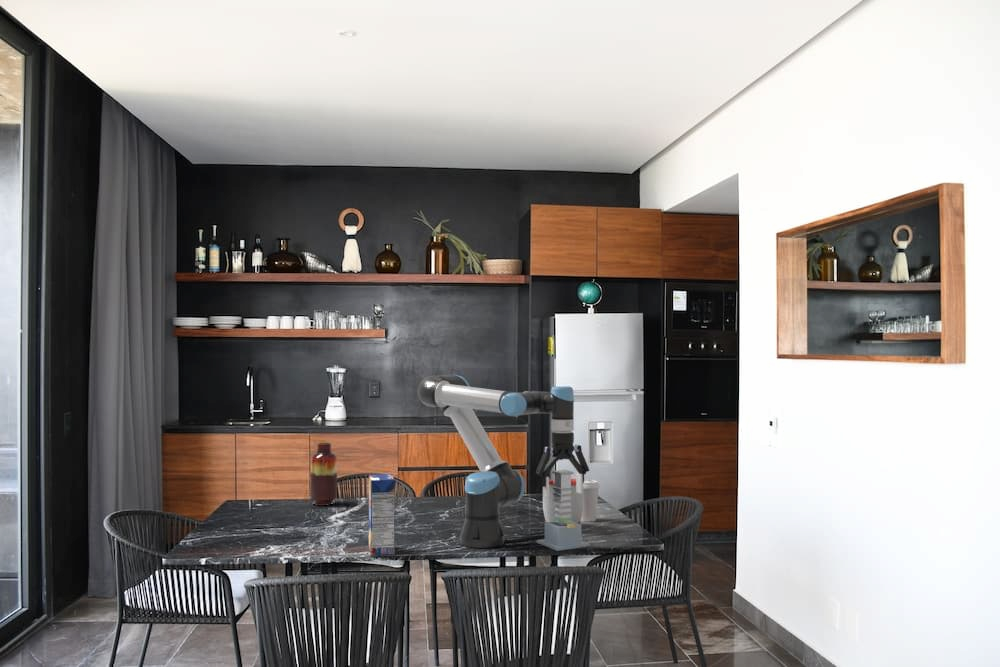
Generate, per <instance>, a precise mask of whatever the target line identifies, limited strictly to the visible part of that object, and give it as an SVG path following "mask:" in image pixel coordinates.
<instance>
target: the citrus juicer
mask: <svg viewBox="0 0 1000 667" xmlns="http://www.w3.org/2000/svg"><path fill="white" fill-rule="evenodd" d="M553 487H555V481H554V480H553V479H552V478H549V497H545V496H543V495H542V510H543V516H544V519H545V522H552V521H555V519H553V517H554V516H555V513H553V511H555V507H553V505H555V501H553V499H555V495H553V493H555V490H554V489H553ZM571 488H573V490H571V494H573V496H571V500H573V502H571V506H573V508H571V511H572V512H573V514H571V517H572V518H573V520H571V521H572V522H575V523H578V524H581V522H582V521H581V517H582V513H583V493H582V494H580V493H577V492H576V478H571Z"/></svg>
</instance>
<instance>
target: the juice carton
mask: <svg viewBox="0 0 1000 667" xmlns="http://www.w3.org/2000/svg"><path fill="white" fill-rule="evenodd" d="M395 496H396V479H395V477H394V475H393V474H391V473H387V474H385V473H384V474H369V475H368V550H370V551H369V554H370V553H371V554H370V557H378V556H381V557H383V556H395V552H396V551H395V550H396V549H395V535H396V534H395V532H396V531H395V528H396V527H395V526H396V525H395V524H396V521H395V519H396V518H395V517H396V516H395V515H396V514H395V513H396V512H395V511H396V510H395V509H396V497H395Z"/></svg>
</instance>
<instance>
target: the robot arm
mask: <svg viewBox="0 0 1000 667" xmlns="http://www.w3.org/2000/svg"><path fill="white" fill-rule="evenodd" d="M417 387H418V388H417V396H418V399H419V400H420V402H421V403H422V404H423V405H425V406H426V407H429V408H440V411H441V412H442V414H443V415H444V416H445V417H449V418H450V419H451V422H452V423H453V425H454V427H455V428H456V430H457V432H458V434H459V436H460V437H461V438H462V440H463V442H464V445H465V446H466V448H467V449H468V452H469V454H470V455H471V457H472V459H473V461H474V462H475V463H476V466H477V467H478V469H479V471H476V472H474V473H469V475H467V476H466V478H465V483H464V484H465V485H464V498H465V499H464V500H465V501H464V510H465V511H464V514H465V516H464V523H463V526H462V529H461V532H460V535H459V544H460V545H461V546H464V547H468V548H476V549H477V548H478V549H479V548H480V549H481V548H482V549H485V548H494V547H500V546H502V545H504V544H505V534H504V531H503V528H502V524H501V521H500V508H502V507H503V508H504V507H506V506H510V505H514V504H515V503H517V502H518V501H520V500H521V499H522V497H523V496H524V494H525V491H526V482H525V481H526V480H525V478H524V476H523V475H522V474H521V473H520V472H519V471H518V470H516V469H515V470H514V469H512V467H511V465H510V464H509V462H508V461H507V460H506V461H505V460H502V458H501V456H500V455H499V453H498V451H497V450H496V448H495V446H494V444H493V442H492V441H491V439H490V437H489V436H488V434H487V432H486V430H485V429H484V427H483V425H482V423H481V422H480V420H479V418H478V417H477V415H476V413H475V412H474V410H478V411H485V412H492V413H500V414H504V415H506V416H509V417H519V416H525V415H533V414H550V415H551V431H552V432H551V444H552V445H551V447H549V446H544V447H543V454H542V456H541V458H540V461H539V462H538V465H537V467H536V471H535V475H536V476H539V477H540V486H541V487H542V497H543V496H545V497H549V479H550V477H549V476H548V475H549V474H550V472H552V469H553V468H554V466H555V465H556V463H558V462H559V460H560V461H562V460H568V461H569V462H570V464H572V466H573V467H574V469H575V470H576V471H577V473H575V479H576V492H577V493H580V494H582V493H583V483H584V480H585V475H586V474H587V472H590V468H589V465H588V463H587V460H586V459H585V458H586V457H584V453H583V452H582V451H583V450H582V449H583V448H582V445H580V444H574V442H575V441H574V440H575V436H574V435H575V433H574V432H573V431H574V426H575V425H574V424H575V423H574V420H575V419H574V417H575V416H574V414H575V413H574V409H575V406H574V403H575V398H574V396H575V395H574V389H573V387H572V386H567V385H565V386H561V385H560V386H558V385H556V386H555V385H554V386H552V388H551V391H539V390H538V391H537V390H527V391H526V390H525V391H523V392H515V391H507V390H497V389H491V388H482V387H474V386H470V384H469V382H468V381H467V380H466V379H465V378H464V377H463V376H461V375H457V374H446V375H444V374H441V375H437V374H435V375H429V376H426V377H424V379H422V380H421V382H420V383H419V384H418V386H417ZM573 452H574V453H573ZM574 454H575V455H576V456H575V455H574Z"/></svg>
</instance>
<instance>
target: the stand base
mask: <svg viewBox="0 0 1000 667" xmlns="http://www.w3.org/2000/svg"><path fill="white" fill-rule="evenodd" d="M536 543H537V544H539V545H542V546H544V547H547V548H549V549H551V550H554V551H557V552H559V551H567V550H573V549H580V548H586V547H587V546H588V547H591V544H590V543H588V542H587V541H583V540H582V524H581V523H580V524H578V523H575V522H572V521H571V524H567V525H565V526H560V525H557V524H555V521H552V522H546V521H545V522H544V538H543V539H536ZM588 547H587V548H588Z"/></svg>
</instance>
